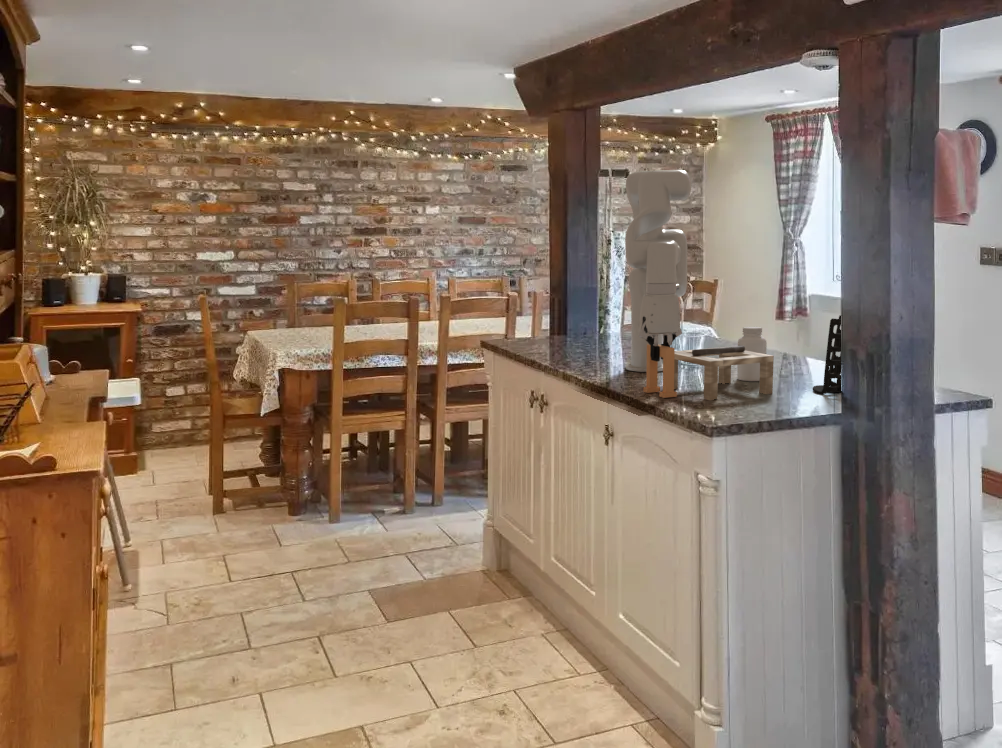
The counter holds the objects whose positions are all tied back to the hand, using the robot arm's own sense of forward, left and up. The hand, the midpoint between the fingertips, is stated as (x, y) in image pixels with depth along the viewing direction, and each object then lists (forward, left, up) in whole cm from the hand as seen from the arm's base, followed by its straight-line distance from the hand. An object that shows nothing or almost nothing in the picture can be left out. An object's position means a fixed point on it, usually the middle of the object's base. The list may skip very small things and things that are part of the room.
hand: (660, 359), depth 244 cm
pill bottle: (-8, +36, -10) cm, 38 cm away
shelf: (+2, +17, -9) cm, 19 cm away
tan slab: (0, 0, -9) cm, 9 cm away
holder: (+17, +42, -10) cm, 46 cm away
